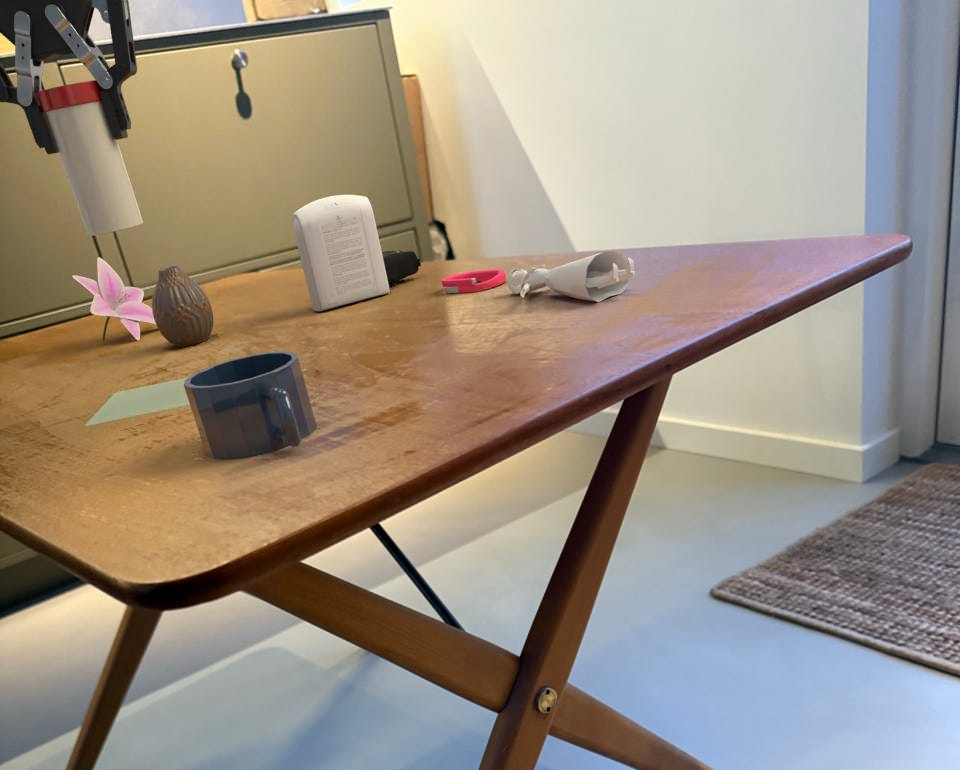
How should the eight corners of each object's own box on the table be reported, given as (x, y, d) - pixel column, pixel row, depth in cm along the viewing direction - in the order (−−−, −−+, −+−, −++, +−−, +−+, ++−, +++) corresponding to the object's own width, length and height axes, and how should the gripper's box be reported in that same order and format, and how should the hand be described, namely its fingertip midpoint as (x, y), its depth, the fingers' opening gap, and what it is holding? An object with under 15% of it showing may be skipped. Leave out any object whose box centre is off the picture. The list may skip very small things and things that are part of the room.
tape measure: (385, 291, 131) (379, 261, 130) (352, 291, 136) (345, 262, 134) (424, 277, 135) (418, 247, 134) (390, 277, 140) (384, 249, 138)
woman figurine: (577, 265, 97) (466, 275, 111) (586, 313, 99) (475, 316, 113) (662, 235, 102) (546, 248, 116) (669, 281, 104) (554, 288, 118)
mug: (193, 452, 83) (168, 379, 80) (290, 417, 86) (270, 346, 84) (247, 480, 74) (222, 399, 71) (354, 440, 77) (334, 362, 74)
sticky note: (85, 431, 96) (83, 426, 96) (116, 397, 106) (114, 392, 106) (231, 401, 95) (229, 396, 95) (248, 369, 106) (246, 365, 106)
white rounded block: (383, 290, 133) (360, 187, 127) (396, 292, 129) (372, 187, 123) (309, 310, 129) (282, 206, 124) (319, 314, 126) (292, 207, 120)
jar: (78, 239, 90) (27, 93, 85) (94, 231, 95) (47, 92, 89) (138, 227, 90) (90, 79, 84) (151, 219, 95) (107, 79, 89)
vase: (153, 353, 124) (128, 278, 120) (181, 338, 129) (157, 266, 125) (204, 346, 122) (180, 270, 118) (229, 331, 127) (207, 257, 123)
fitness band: (433, 294, 123) (430, 281, 123) (462, 281, 127) (460, 269, 126) (486, 291, 118) (484, 278, 118) (515, 278, 122) (513, 265, 122)
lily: (93, 363, 131) (104, 290, 126) (46, 325, 136) (55, 253, 132) (174, 364, 140) (187, 296, 135) (127, 328, 145) (138, 261, 141)
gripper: (110, -100, 84) (177, 127, 92) (-60, -63, 84) (22, 160, 93) (84, -116, 77) (159, 130, 86) (-99, -75, 78) (-8, 166, 86)
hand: (87, 145), depth 89 cm, fingers closed on jar, 5 cm apart
